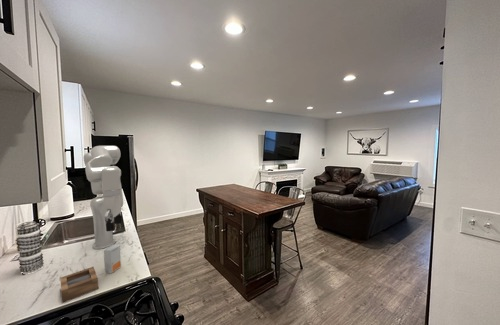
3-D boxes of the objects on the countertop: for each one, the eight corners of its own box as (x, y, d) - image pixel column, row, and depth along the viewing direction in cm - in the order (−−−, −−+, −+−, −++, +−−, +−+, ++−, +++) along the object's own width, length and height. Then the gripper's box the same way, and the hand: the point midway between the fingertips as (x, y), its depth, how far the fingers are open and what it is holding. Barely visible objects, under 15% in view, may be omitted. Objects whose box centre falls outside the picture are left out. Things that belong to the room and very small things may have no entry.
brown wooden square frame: (61, 288, 93) (60, 277, 93) (94, 276, 101) (93, 266, 101) (62, 303, 84) (61, 291, 84) (98, 288, 93) (97, 277, 92)
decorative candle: (49, 266, 110) (44, 221, 108) (25, 276, 102) (19, 227, 99) (39, 263, 113) (34, 218, 111) (15, 272, 105) (10, 225, 103)
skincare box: (111, 273, 104) (110, 250, 102) (104, 272, 104) (103, 250, 103) (121, 266, 109) (120, 244, 108) (114, 265, 110) (113, 244, 109)
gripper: (110, 189, 108) (112, 221, 110) (94, 197, 91) (97, 235, 93) (126, 188, 110) (128, 220, 111) (113, 196, 93) (116, 233, 95)
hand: (114, 227), depth 102 cm, fingers open, 9 cm apart
